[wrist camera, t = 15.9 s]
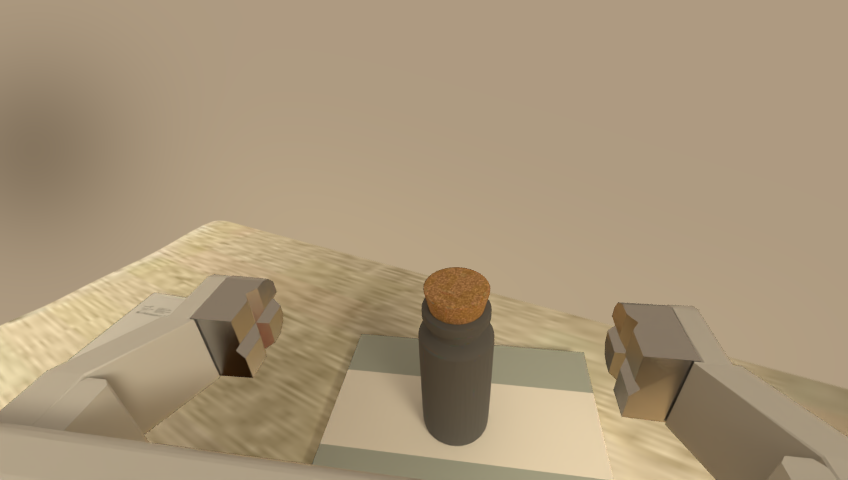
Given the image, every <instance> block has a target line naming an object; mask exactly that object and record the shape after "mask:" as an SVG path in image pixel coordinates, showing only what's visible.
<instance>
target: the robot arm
mask: <svg viewBox="0 0 848 480" xmlns="http://www.w3.org/2000/svg"><path fill="white" fill-rule="evenodd" d="M275 294H276V289H275V286H274V283H273V281H271V280H269V279H263V278H252V277H241V276H226V275H215V274H214V275H211V276H208V277H207V278H206V279H205V280H204V281H203V282H202V283H201V284H200V285H199V286H198V287H197V288H196V289H195V290H194V291H193V292H192V293H191V294H190V295H189V296H188V297H187V298H186V299H185V300H184V301H183V302H182V303H181V304H180V305H179V306H178V307H177V308H176V309H175V310H174V311H173V312H172V313H171V314H170V315H169V316H168V317H160V318H158V319H156V320H154V321H152V322H150V323H148V324H145V325H143V326H141V327H139V328H137V329H135V330H133V331H130V332H128V333H126V334H124V335H122V336H120V337H118V338H116V339H113V340H111V341H109V342H107V343H105V344H103V345H101V346H99V347H96V348H94V349H92V350H90V351H88V352H86V353H84V354H82V355H79V356H77V357H75V358H73V359H71V360H69V361H67V362H64V363H62V364H60V365H58V366H56V367H54V368H52V369H50V370H47V371H46V372H45V373H43V374H42V375H41V376H40V377H39V378H38V379H36V380H35V381H34V382H33V383H32V384H31V385H30V386H28V387H27V388H26V389H25V390H24V391H23V392H21V393H20V394H19V395H18V396H17V397H16V398H14V399H13V400H12V401H11V402H10V403H9V404H8V405H6V406H5V407H4V408H3V409H2V410H1V411H0V480H423V479H416V478H408V477H401V476H393V475H386V474H379V473H371V472H364V471H357V470H349V469H342V468H334V467H327V466H320V465H312V464H305V463H298V462H290V461H283V460H275V459H268V458H261V457H253V456H246V455H238V454H231V453H224V452H216V451H209V450H202V449H194V448H187V447H179V446H172V445H165V444H157V443H150V442H149V441H148V440H147V438H146V437H145V435H144V434H146V433H147V432H148V431H150V430H151V429H152V428H154V427H155V426H156V425H158V424H159V423H160V422H162V421H163V420H164V419H166V418H167V417H168V416H170V415H171V414H172V413H174V412H175V411H176V410H178V409H179V408H180V407H181V406H183V405H184V404H185V403H187V402H188V401H189V400H191V399H192V398H193V397H195V396H196V395H197V394H199V393H200V392H201V391H203V390H204V389H205V388H207V387H208V386H209V385H211V384H212V383H213V382H215V381H216V380H217V379H219V378H220V375H222V376H235V377H248V378H253V377H254V376H255V374H256V372H257V371H258V369H259V368H260V366H261V364H262V363H263V361H264V360H265V358H266V351H265V348H267V347H268V346H270V345H272V344H273V343H275V342H276V340H277V338H278V336H279V335H280V332H281V328H282V324H283V312H282V309H281V306H280V305H279V304H278V303H277V302H276V301H275V300H274V299H273V297H274V296H275ZM612 317H613V320H614V323H615V326H614V327H612V328H611V329H610V330H608V332H607V337H606V341H605V359H606V365H607V368H608V372H609V373H610V374H611V375H612V376H613V377H614V378H615V379H616V383H615V387H614V393H615V396H616V399H617V403H618V406H619V409H620V413H621V416H622V417H628V418H636V419H644V420H651V421H659V422H666V423H665V425H666V426H667V427H668V428H669V429H670V430H671V431H672V432H673V434H674V435H675V436H676V437H677V438H678V439H679V440H680V441H681V442H682V443H683V444H684V445H685V447H686V448H687V449H688V450H689V451H690V452H691V453H692V454H693V455H694V456H695V457H696V459H697V460H698V461H699V462H700V463H701V464H702V465H703V466H704V467H705V468H706V469H707V470H708V472H709V473H710V474H711V475H712V476H713V477H714V478H715V479H716V480H848V437H847V436H845V435H844V434H842V433H841V432H839V431H838V430H836V429H835V428H833V427H832V426H830V425H829V424H827V423H826V422H825V421H823V420H822V419H820V418H819V417H817V416H816V415H814V414H813V413H811V412H810V411H808V410H807V409H805V408H804V407H802V406H801V405H799V404H798V403H796V402H795V401H793V400H792V399H790V398H789V397H787V396H786V395H784V394H783V393H781V392H780V391H778V390H777V389H775V388H774V387H772V386H771V385H769V384H768V383H766V382H765V381H763V380H762V379H760V378H759V377H757V376H756V375H754V374H753V373H751V372H750V371H748V370H747V369H745V368H744V367H742V366H738V365H733V364H732V363H731V361H730V360H729V358H728V356H727V355H726V353H725V352H724V350H723V349H722V347H721V345H720V344H719V342H718V341H717V339H716V337H715V336H714V334H713V333H712V331H711V330H710V328H709V326H708V325H707V323H706V322H705V320H704V318H703V317H702V315H701V314H700V312H699V311H698V309H696V308H695V307H693V306H679V305H667V306H665V305H651V304H650V305H649V304H635V303H619V302H618V303H617V305H616V306H615V308H614V311H613V315H612Z"/></svg>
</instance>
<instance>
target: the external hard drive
mask: <svg viewBox="0 0 848 480" xmlns="http://www.w3.org/2000/svg"><path fill="white" fill-rule="evenodd" d="M185 299H186V297H180V296H174V295H167V294H161V293H153V294H151V295H150V296H149V297H148V298H146V299H145V300H144V301H143V302H141V303H140V304H139V305H137V306H136V307H135V308H134V309H132V310H131V311H130V312H129V313H127V314H126V315H125V316H123V317H122V318H121V319H120V320H118V321H117V322H116V323H115V324H113V325H112V326H111V327H109V328H108V329H107V330H106V331H104V332H103V333H102V334H101V335H99V336H98V337H97V338H96V339H94V340H93V341H92V342H90V343H89V344H88V345H87V346H85V347H84V348H83V349H82V350H80V351H79V352H78V353H77V354H75V355H74V356H73V357H72V358H70V359H69V360H71V359H73V358H75V357H77V356H79V355H82V354H84V353H86V352H88V351H90V350H92V349H94V348H96V347H99V346H101V345H103V344H105V343H107V342H109V341H111V340H113V339H116V338H118V337H120V336H122V335H124V334H126V333H128V332H130V331H133V330H135V329H137V328H139V327H141V326H143V325H145V324H148V323H150V322H152V321H154V320H156V319H158V318H160V317H168V316H169V315H170V314H171V313H172V312H173V311H174V310H175V309H176V308H177V307H178V306H179V305H180V304H181V303H182V302H183V301H184V300H185ZM69 360H68V361H69Z"/></svg>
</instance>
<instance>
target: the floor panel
mask: <svg viewBox="0 0 848 480" xmlns="http://www.w3.org/2000/svg"><path fill="white" fill-rule="evenodd" d="M312 465H320V466H327V467H334V468H342V469H349V470H357V471H364V472H371V473H379V474H386V475H393V476H401V477H408V478H416V479H423V480H614V478H613V474H612V470H611V465H610V461H609V457H608V453H607V449H606V444H605V440H604V436H603V432H602V428H601V423H600V419H599V415H598V411H597V406H596V402H595V398H594V394H593V390H592V385H591V381H590V377H589V373H588V368H587V364H586V360H585V356H584V352H572V351H560V350H548V349H536V348H524V347H512V346H500V345H494V353H493V366H492V379H491V392H490V404H489V414H488V422H487V426H486V429H485V431H484V432H483V434H482V435H481V436H480V437H479V438H478V439H477V440H476V441H474V442H472V443H470V444H467V445H463V446H450V445H446V444H444V443H442V442H439V441H438V440H437V439H435V438H434V437H433V436H432V435H431V434H430V433H429V431H428V430H427V428H426V425H425V422H424V417H423V405H422V390H421V374H420V358H419V339H416V338H405V337H393V336H381V335H369V334H361V337H360V339H359V342H358V345H357V347H356V350H355V353H354V355H353V358H352V360H351V363H350V366H349V368H348V371H347V374H346V376H345V379H344V381H343V384H342V387H341V389H340V392H339V395H338V397H337V400H336V403H335V405H334V408H333V410H332V413H331V416H330V418H329V421H328V424H327V426H326V429H325V432H324V434H323V437H322V439H321V442H320V445H319V447H318V450H317V453H316V455H315V458H314V460H313V463H312Z"/></svg>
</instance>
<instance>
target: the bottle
mask: <svg viewBox="0 0 848 480" xmlns="http://www.w3.org/2000/svg"><path fill="white" fill-rule="evenodd" d="M423 290H424V294H425V299H424V301H423V303H422V318H423V322H422V323H421V326H420V328H419V358H420V374H421V390H422V405H423V417H424V422H425V425H426V428H427V430H428V431H429V433H430V434H431V435H432V436H433V437H434V438H435V439H437V440H438V441H439V442H442V443H444V444H446V445H450V446H463V445H467V444H470V443H472V442H474V441H476V440H477V439H478V438H479V437H480V436H481V435H482V434H483V432H484V431H485V429H486V426H487V422H488V414H489V404H490V392H491V379H492V366H493V353H494V331H493V328H492V325H491V324H490V320H491V311H492V309H491V304H490V301H489V300H488V297H489V294H490V285H489V283H488V281H487V280H486V278H485V277H484V276H482V275H481V274H480V273H478V272H476V271H473V270H471V269H467V268H459V267H453V268H446V269H442V270H439V271H436V272H435V273H433V274H432V275H430V276H429V277H428V278H427V279H426V281H425V283H424V289H423Z"/></svg>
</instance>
